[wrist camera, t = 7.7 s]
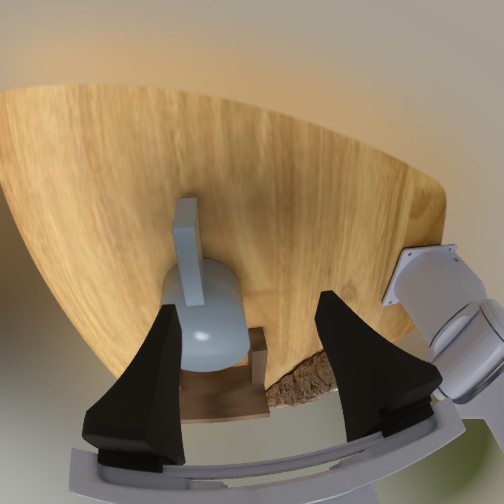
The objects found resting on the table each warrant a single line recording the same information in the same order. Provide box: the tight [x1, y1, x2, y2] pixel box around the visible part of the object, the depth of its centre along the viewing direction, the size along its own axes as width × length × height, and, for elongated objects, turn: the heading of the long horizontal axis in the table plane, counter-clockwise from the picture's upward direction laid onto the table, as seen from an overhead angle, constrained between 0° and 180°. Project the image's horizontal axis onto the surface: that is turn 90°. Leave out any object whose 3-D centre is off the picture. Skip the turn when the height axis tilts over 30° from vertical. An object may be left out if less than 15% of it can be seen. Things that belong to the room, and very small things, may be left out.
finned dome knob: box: [159, 197, 250, 372], centre depth 20 cm, size 7×13×6 cm, turn 179°
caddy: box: [179, 327, 270, 424], centre depth 27 cm, size 12×9×7 cm
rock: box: [266, 351, 338, 408], centre depth 35 cm, size 15×10×6 cm
